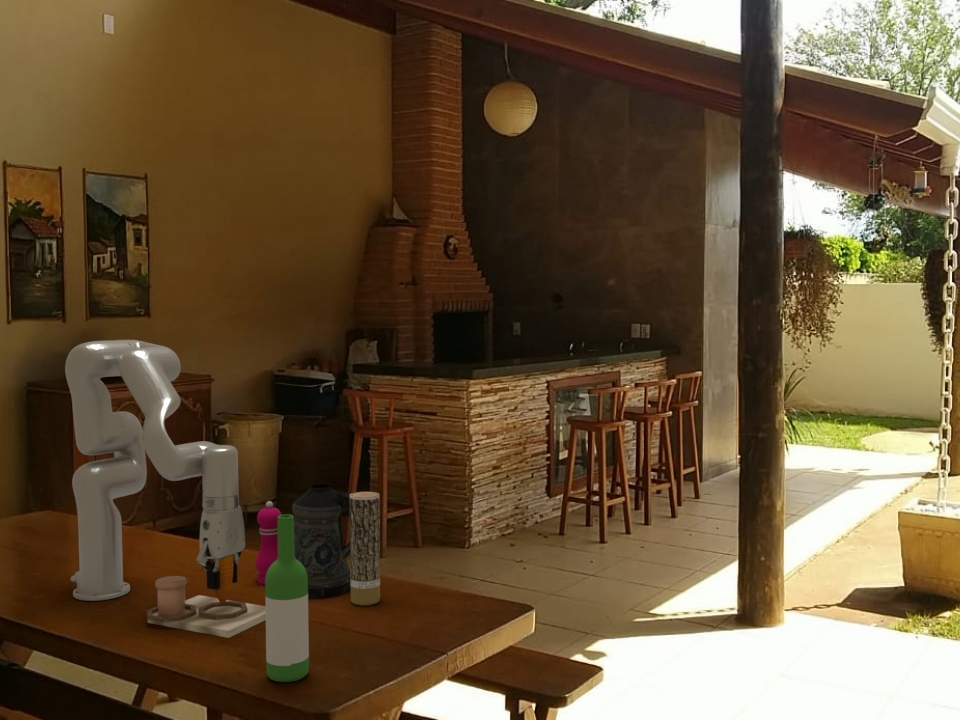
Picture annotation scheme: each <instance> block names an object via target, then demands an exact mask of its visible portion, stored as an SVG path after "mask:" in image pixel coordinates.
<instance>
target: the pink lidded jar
mask: <svg viewBox="0 0 960 720" xmlns="http://www.w3.org/2000/svg"><path fill="white" fill-rule="evenodd" d="M154 582H155V584H154V585H155V588H156V589H157V606H158V616H160V617H172V616H181V615H183V614H185V600H186V589H185V588H186V586H187V583H188V582H187V578H186V577H185V576H181V575H170V576H169V575H168V576H164V577H160V578H157V579H156V580H155V581H154Z"/></svg>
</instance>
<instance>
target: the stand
mask: <svg viewBox="0 0 960 720" xmlns="http://www.w3.org/2000/svg"><path fill="white" fill-rule="evenodd" d="M146 618H147V623H148V624H153V625H158V626H164V627H168V628H174V629H179V630H184V631H190V632H195V633H200V634H206V635H211V636H216V637H222V638H227V639H229V638H232V637H233V636H236V635H238V634H240V633H243V632H244V631H247V630H249V629H250V628H252V627H255V626H256V625H259V624H261V623H262V622H264V621H265V622H266V605H260V604H254V603H248V602H242V601H237V600H236V601H235V600H229V599H227V600H226V602H225V603H224V604H221V603H220V602H219V600H218V598H217V597H214V596H213V597H211V596H206V595H201V594H200V595H199V594H198V595H196V596H193V597H190V598H188V599H185V614H183V615H181V616H172V617H160V616H158V605H157V606H154V607H152V608H150V609H147V610H146Z"/></svg>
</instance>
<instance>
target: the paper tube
mask: <svg viewBox="0 0 960 720" xmlns="http://www.w3.org/2000/svg"><path fill="white" fill-rule="evenodd" d="M349 495H350V516H349V542H350V555H349V562H350V563H349V569H350V602H351V603H352V604H353V605H355V606H361V607H362V606H363V607H365V606H366V607H367V606H372V605H373V606H374V605H376V604H378V603H379V602H380V600H381V528H380V527H381V525H380V524H381V522H380V521H381V520H380V519H381V518H380V517H381V515H380V514H381V511H380V510H381V508H380V507H381V506H380V499H381V498H380V493H379V492H374V491H359V492H358V491H357V492H353V493H350V494H349Z"/></svg>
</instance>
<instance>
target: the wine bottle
mask: <svg viewBox="0 0 960 720" xmlns="http://www.w3.org/2000/svg"><path fill="white" fill-rule="evenodd" d="M294 519H295V516H294V514H291V513H287V514H286V513H285V514H282V515H279V516H278V558H277V560H276V561H275V562H274V563H273V564H272V565H271V566H270V567H269V569H268V571H267V574H266V579H265V585H264V586H265V589H264V591H265V606H266V620H265V651H266V652H265V653H266V654H265V657H266V658H265V660H266V666H265V667H266V675H267V677H268V678H269V679H270V680H272V681H274V682H277V683H291V682H296V681H299V680H301V679H303V678H304V677H306V676H307V674H308V673H309V668H310V663H309V661H310V651H309V650H310V644H309V642H310V641H309V637H310V636H309V630H310V629H309V598H308V577H307V572H306V569H305V567H304V566H303V565H302V563H301V562H299V561H298V560H297V559H296V558H295V553H294Z"/></svg>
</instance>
